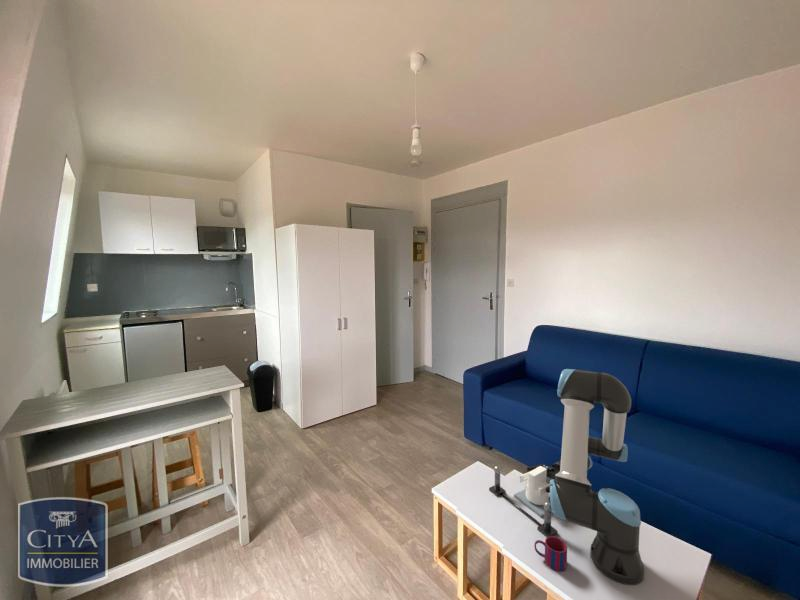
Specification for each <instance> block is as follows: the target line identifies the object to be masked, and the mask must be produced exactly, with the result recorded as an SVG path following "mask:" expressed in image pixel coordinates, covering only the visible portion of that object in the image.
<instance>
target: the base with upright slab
mask: <svg viewBox="0 0 800 600" xmlns="http://www.w3.org/2000/svg"><path fill="white" fill-rule="evenodd" d="M546 475H547V469H546V468H544V467H542V466H539V467H537V468H536V469H534V470H532V471H530V472H528V479H527V480H526V481H525V489H526V498H527V499H528V500H529V501H530V502H532V503H534V504H537V505H544V503H545V502H547V501H548V497H550V493H545V494H543V495H541V496H540V495H539V488H541V487H543V486H545V485H547V484H548V482H547V477H546Z"/></svg>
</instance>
